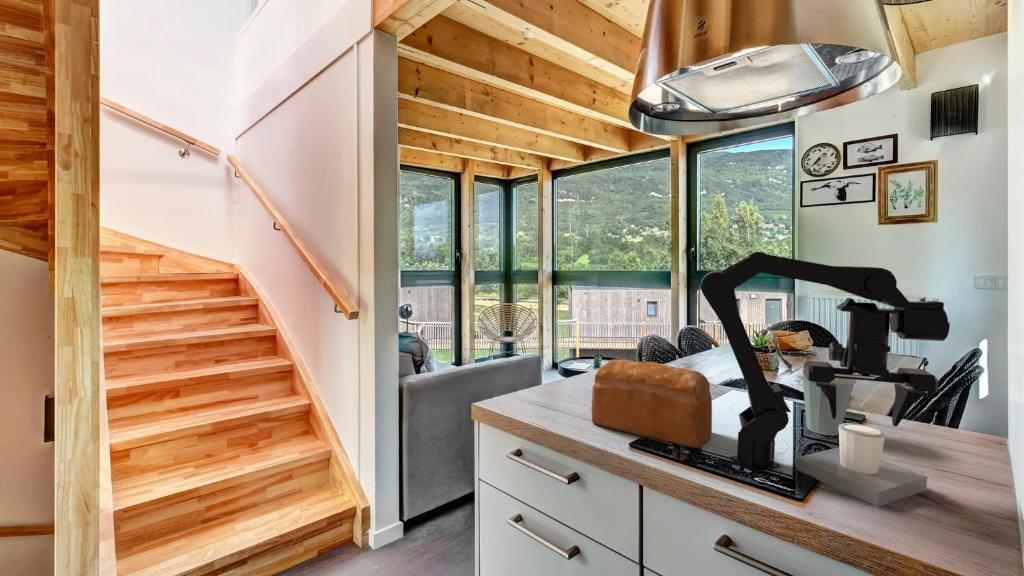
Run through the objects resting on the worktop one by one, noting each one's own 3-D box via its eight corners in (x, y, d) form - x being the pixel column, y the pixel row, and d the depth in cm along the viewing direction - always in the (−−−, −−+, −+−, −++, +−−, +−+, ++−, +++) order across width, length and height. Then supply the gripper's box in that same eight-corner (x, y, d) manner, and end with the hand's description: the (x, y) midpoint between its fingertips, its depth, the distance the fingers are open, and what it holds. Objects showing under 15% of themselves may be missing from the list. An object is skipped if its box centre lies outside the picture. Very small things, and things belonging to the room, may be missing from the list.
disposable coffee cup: (792, 420, 116) (795, 361, 115) (843, 425, 112) (846, 364, 111) (804, 436, 106) (808, 371, 105) (860, 442, 102) (865, 375, 101)
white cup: (891, 477, 81) (894, 438, 81) (848, 473, 83) (850, 435, 82) (869, 459, 88) (871, 423, 88) (829, 456, 89) (831, 421, 89)
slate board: (877, 506, 76) (878, 492, 76) (796, 470, 89) (796, 457, 89) (926, 490, 82) (927, 476, 82) (843, 457, 95) (844, 445, 95)
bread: (610, 409, 123) (611, 351, 122) (715, 432, 108) (718, 366, 107) (586, 425, 112) (587, 361, 111) (699, 453, 97) (702, 379, 96)
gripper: (914, 333, 87) (909, 414, 89) (799, 327, 94) (795, 402, 96) (942, 344, 77) (936, 435, 78) (811, 336, 84) (807, 420, 85)
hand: (863, 422), depth 85 cm, fingers open, 9 cm apart
